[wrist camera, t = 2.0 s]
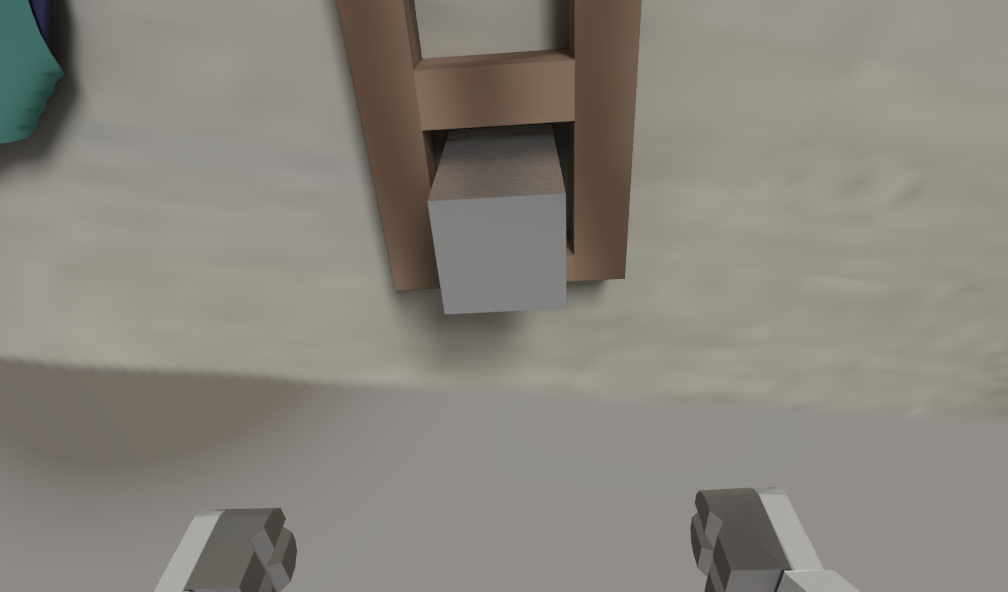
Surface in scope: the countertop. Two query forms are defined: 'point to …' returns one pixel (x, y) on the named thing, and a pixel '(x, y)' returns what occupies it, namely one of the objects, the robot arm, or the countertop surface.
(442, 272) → the steel block
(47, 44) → the cutlery set
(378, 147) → the walnut rail
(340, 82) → the countertop surface
